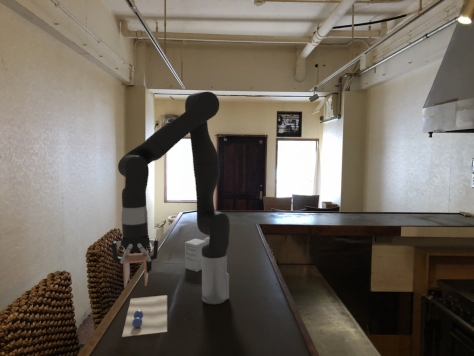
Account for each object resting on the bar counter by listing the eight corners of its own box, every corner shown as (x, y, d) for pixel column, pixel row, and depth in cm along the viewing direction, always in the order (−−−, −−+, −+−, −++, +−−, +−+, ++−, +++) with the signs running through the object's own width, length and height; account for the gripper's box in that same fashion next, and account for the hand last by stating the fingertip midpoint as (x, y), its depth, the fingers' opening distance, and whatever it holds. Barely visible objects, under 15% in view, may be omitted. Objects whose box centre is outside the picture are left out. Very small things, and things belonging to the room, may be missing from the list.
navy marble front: (140, 323, 102) (140, 314, 102) (143, 328, 100) (143, 318, 99) (131, 326, 101) (130, 317, 100) (133, 331, 98) (133, 321, 98)
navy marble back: (141, 316, 107) (141, 307, 106) (144, 320, 104) (144, 311, 104) (132, 318, 105) (132, 310, 105) (135, 323, 102) (134, 314, 102)
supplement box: (195, 263, 156) (195, 238, 154) (207, 267, 151) (207, 240, 150) (184, 268, 150) (184, 241, 148) (196, 272, 145) (196, 244, 144)
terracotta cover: (128, 274, 105) (127, 250, 104) (148, 272, 106) (147, 249, 106) (124, 287, 95) (123, 261, 94) (146, 285, 97) (145, 259, 96)
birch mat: (130, 301, 119) (130, 298, 119) (167, 297, 121) (167, 295, 121) (122, 340, 95) (122, 336, 95) (167, 334, 98) (167, 331, 98)
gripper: (159, 216, 104) (160, 266, 106) (112, 218, 101) (114, 270, 103) (158, 222, 97) (160, 276, 98) (107, 224, 94) (110, 280, 95)
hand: (136, 272), depth 101 cm, fingers closed on terracotta cover, 6 cm apart
